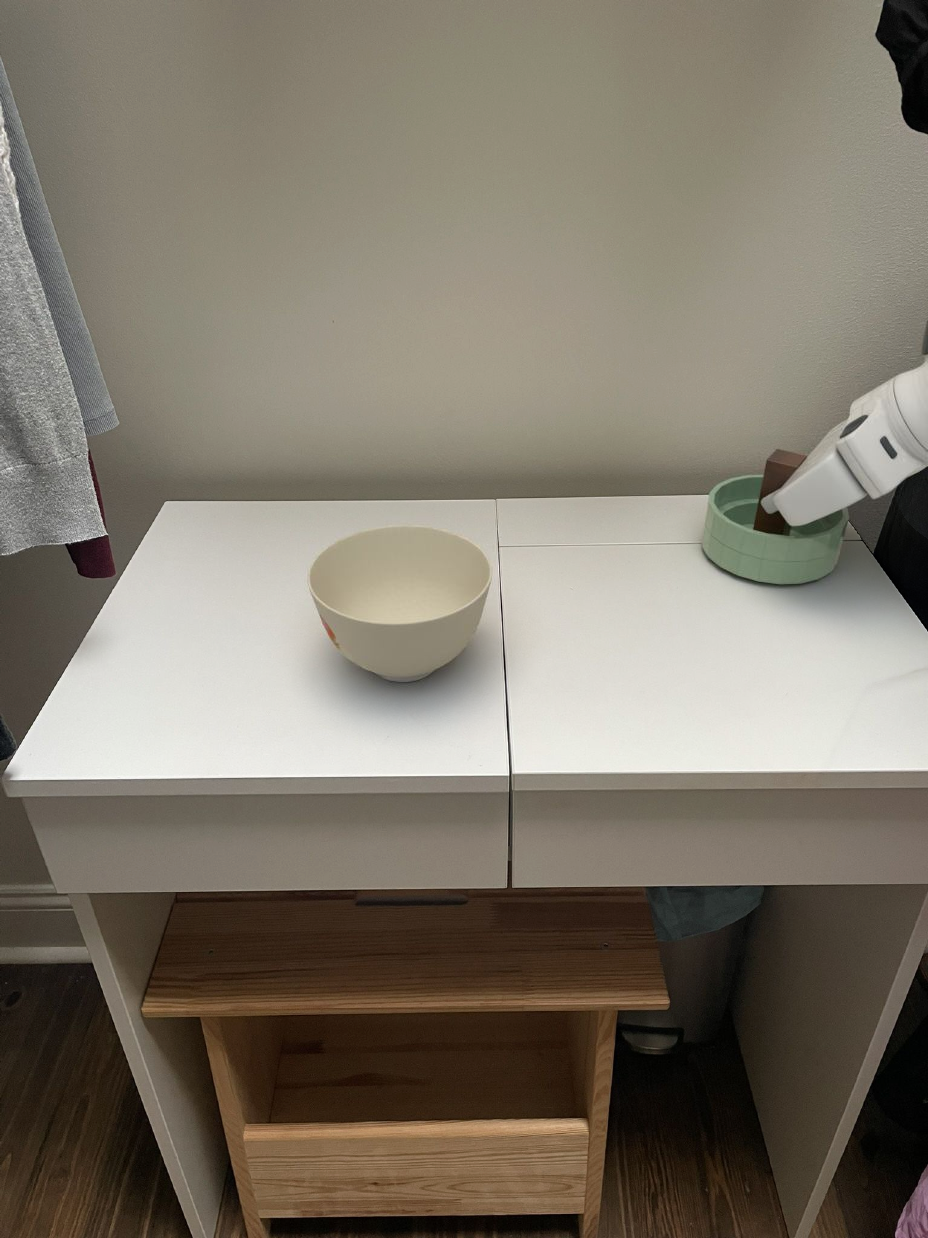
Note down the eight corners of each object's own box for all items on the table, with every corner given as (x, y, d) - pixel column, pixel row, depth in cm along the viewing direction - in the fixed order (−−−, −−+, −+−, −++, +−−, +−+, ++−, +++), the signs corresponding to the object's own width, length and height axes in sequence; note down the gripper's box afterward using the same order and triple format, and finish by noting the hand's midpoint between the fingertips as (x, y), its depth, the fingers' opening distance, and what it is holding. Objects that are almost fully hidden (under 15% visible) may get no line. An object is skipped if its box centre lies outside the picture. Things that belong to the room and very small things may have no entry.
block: (788, 539, 103) (807, 455, 97) (778, 552, 101) (797, 467, 95) (760, 531, 104) (776, 448, 99) (749, 544, 102) (766, 459, 96)
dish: (864, 572, 100) (878, 522, 97) (752, 600, 96) (762, 549, 92) (780, 512, 111) (790, 465, 107) (676, 535, 107) (683, 487, 103)
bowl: (505, 708, 82) (508, 613, 77) (320, 727, 80) (309, 632, 75) (475, 605, 95) (475, 518, 89) (315, 620, 93) (305, 532, 87)
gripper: (901, 371, 96) (788, 438, 107) (844, 441, 83) (720, 511, 93) (935, 421, 97) (819, 483, 107) (884, 500, 83) (757, 563, 93)
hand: (773, 497), depth 100 cm, fingers closed on block, 3 cm apart
